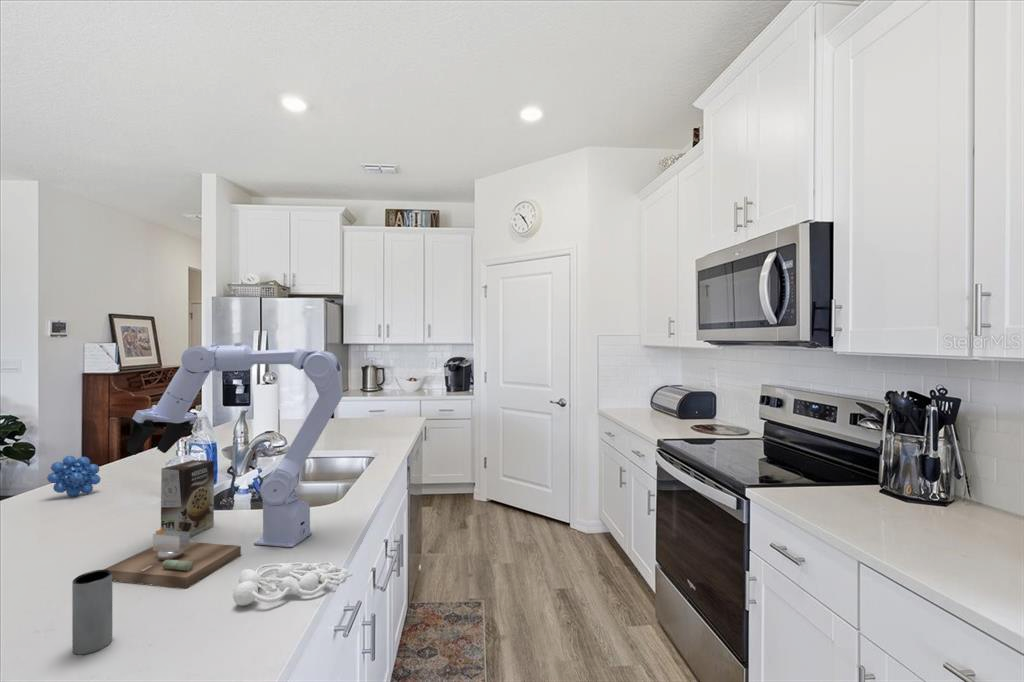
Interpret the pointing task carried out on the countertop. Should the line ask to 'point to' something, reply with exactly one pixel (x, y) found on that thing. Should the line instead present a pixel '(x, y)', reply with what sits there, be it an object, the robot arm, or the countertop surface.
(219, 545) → the base
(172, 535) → the knob
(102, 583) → the planter
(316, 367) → the robot arm
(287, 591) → the tangled rod sculpture
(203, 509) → the coffee box
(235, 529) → the countertop surface
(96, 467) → the blue ball cluster
